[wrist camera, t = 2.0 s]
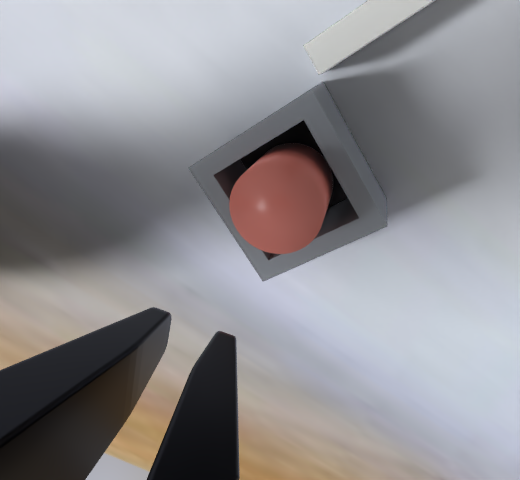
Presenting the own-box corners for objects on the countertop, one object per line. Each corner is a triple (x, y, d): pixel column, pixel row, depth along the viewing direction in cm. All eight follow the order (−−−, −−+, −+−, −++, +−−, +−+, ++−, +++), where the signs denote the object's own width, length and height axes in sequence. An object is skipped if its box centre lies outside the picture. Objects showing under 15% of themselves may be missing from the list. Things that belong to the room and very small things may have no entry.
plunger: (279, 233, 20) (261, 267, 17) (238, 167, 19) (211, 191, 16) (348, 199, 18) (341, 230, 15) (307, 126, 18) (291, 143, 15)
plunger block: (279, 248, 22) (262, 281, 19) (216, 149, 21) (188, 167, 18) (386, 197, 20) (387, 226, 17) (323, 81, 18) (311, 88, 15)
